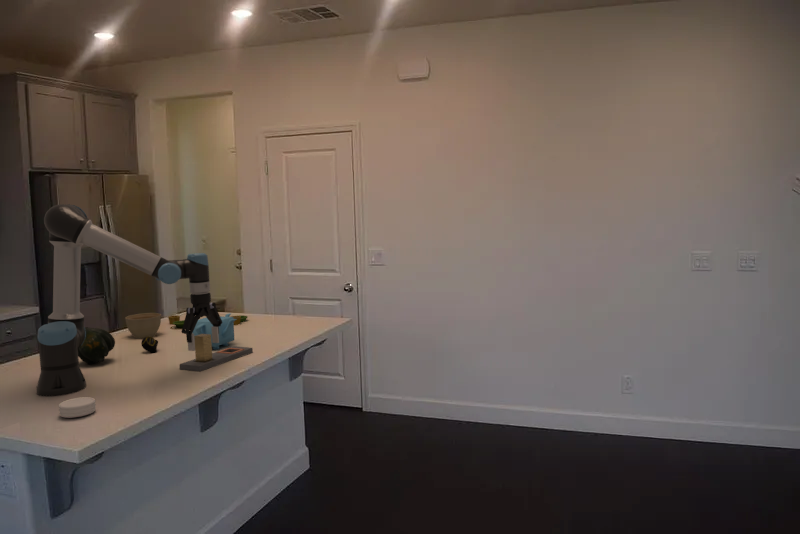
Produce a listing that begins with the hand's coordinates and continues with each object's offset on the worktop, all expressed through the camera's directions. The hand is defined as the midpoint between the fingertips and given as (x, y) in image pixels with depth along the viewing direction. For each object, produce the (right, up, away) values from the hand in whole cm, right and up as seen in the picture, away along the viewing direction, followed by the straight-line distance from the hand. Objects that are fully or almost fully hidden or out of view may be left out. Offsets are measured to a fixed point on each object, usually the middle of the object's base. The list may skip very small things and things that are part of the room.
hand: (204, 346), depth 238 cm
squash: (-47, -8, +9) cm, 48 cm away
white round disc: (-21, -13, -53) cm, 59 cm away
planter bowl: (-48, -4, +58) cm, 76 cm away
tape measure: (-31, -6, +26) cm, 41 cm away
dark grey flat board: (+3, -7, +8) cm, 11 cm away
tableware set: (-27, -1, +87) cm, 92 cm away
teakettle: (-6, -5, +35) cm, 36 cm away
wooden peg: (0, -7, +1) cm, 7 cm away
